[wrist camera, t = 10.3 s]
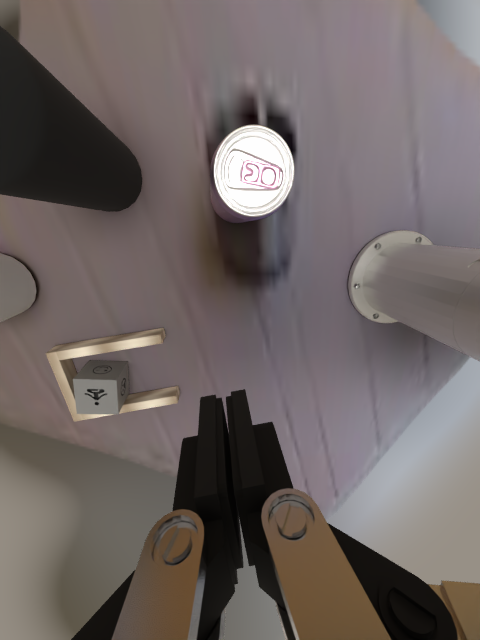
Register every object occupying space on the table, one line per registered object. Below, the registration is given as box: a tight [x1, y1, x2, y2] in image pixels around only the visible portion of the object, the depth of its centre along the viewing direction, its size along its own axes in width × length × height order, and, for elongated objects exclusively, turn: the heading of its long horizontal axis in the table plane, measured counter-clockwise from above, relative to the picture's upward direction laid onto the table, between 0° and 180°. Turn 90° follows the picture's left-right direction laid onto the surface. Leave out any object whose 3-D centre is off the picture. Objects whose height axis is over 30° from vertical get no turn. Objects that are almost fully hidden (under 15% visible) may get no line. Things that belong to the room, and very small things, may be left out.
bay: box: [46, 328, 180, 421], centre depth 37 cm, size 14×10×2 cm
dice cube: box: [73, 360, 129, 414], centre depth 36 cm, size 5×5×5 cm
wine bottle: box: [0, 26, 142, 211], centre depth 16 cm, size 8×8×30 cm
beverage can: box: [210, 125, 294, 223], centre depth 25 cm, size 6×6×15 cm
